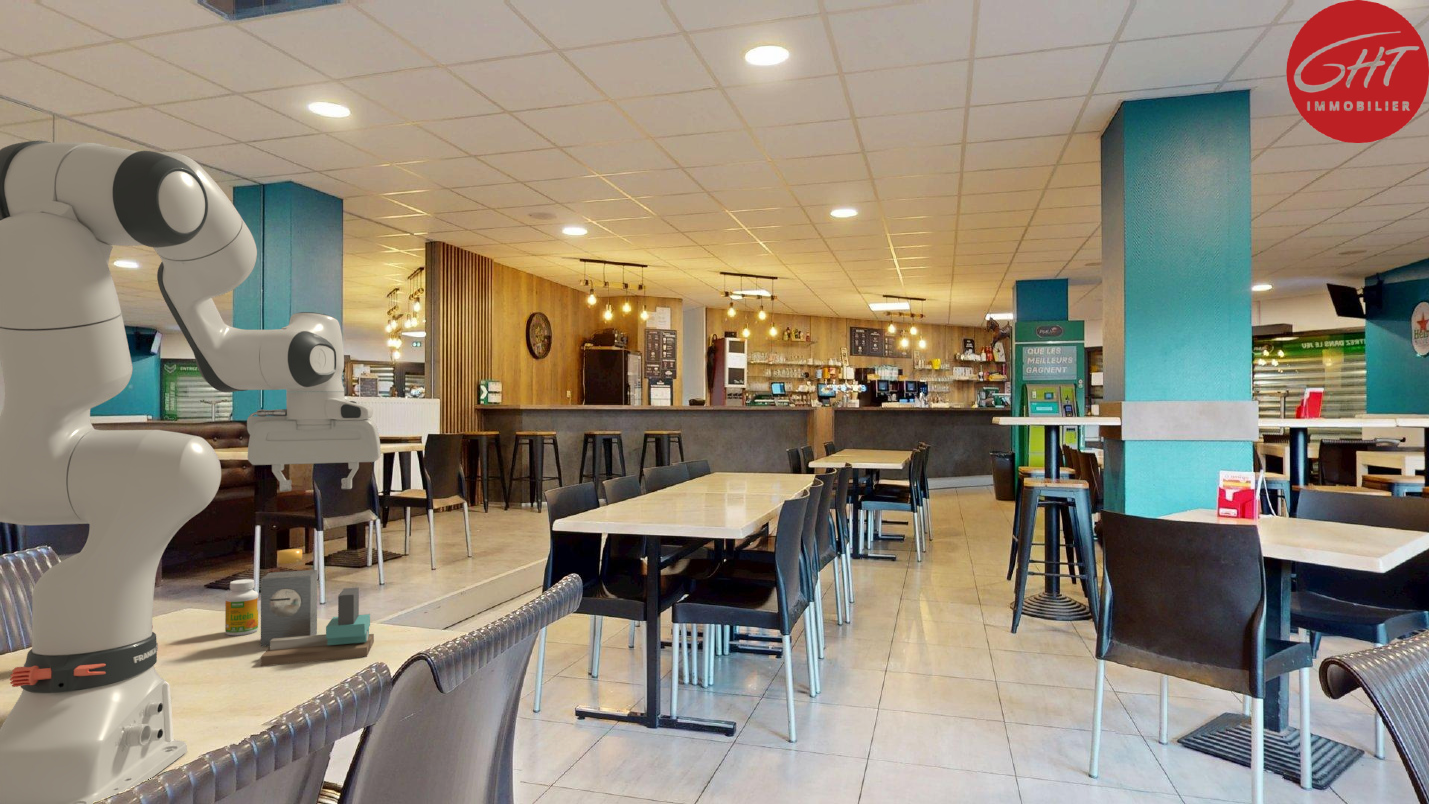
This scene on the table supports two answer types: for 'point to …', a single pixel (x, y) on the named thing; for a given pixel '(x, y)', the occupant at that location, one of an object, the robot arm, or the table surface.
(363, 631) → the carriage
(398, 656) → the table surface
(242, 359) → the robot arm
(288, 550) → the button
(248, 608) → the supplement bottle
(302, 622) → the cabinet
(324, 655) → the rail board
